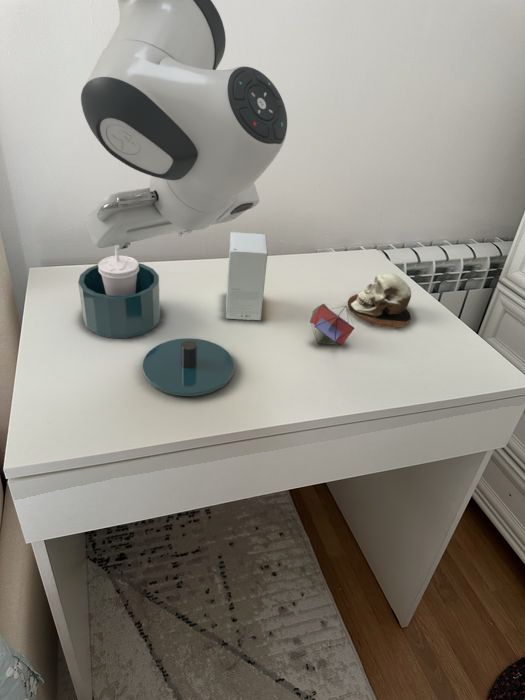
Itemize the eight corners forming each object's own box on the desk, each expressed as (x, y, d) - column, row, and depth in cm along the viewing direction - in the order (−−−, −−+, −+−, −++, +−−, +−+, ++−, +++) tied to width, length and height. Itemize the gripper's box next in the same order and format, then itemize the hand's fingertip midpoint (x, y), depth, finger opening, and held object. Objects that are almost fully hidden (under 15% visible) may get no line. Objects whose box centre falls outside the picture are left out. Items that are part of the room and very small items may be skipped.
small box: (261, 321, 94) (268, 253, 87) (225, 319, 94) (228, 251, 86) (260, 298, 101) (266, 233, 93) (226, 296, 100) (229, 231, 93)
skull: (356, 326, 93) (354, 268, 94) (342, 334, 103) (341, 282, 105) (422, 326, 94) (420, 270, 95) (402, 335, 104) (400, 283, 106)
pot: (118, 347, 84) (115, 307, 80) (68, 317, 90) (62, 278, 86) (175, 317, 93) (174, 278, 88) (125, 291, 98) (122, 254, 94)
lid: (190, 412, 73) (191, 386, 71) (123, 371, 80) (121, 345, 77) (251, 368, 83) (253, 343, 80) (186, 334, 89) (187, 310, 86)
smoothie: (136, 302, 95) (131, 228, 86) (146, 321, 90) (142, 244, 82) (99, 308, 92) (91, 232, 84) (107, 328, 87) (100, 249, 79)
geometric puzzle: (366, 330, 91) (346, 289, 88) (353, 350, 85) (332, 306, 83) (331, 340, 95) (311, 301, 93) (316, 359, 90) (295, 319, 88)
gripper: (116, 230, 55) (86, 276, 66) (270, 200, 66) (221, 243, 77) (93, 173, 55) (67, 229, 66) (251, 153, 66) (205, 203, 77)
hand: (151, 236), depth 72 cm, fingers open, 8 cm apart
